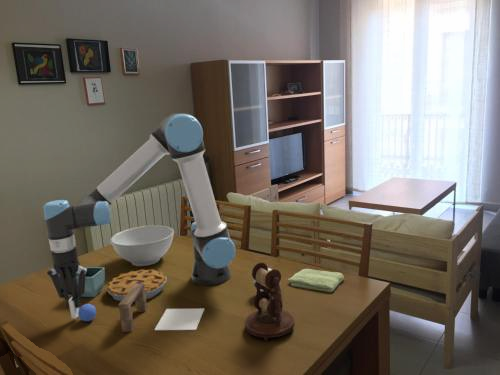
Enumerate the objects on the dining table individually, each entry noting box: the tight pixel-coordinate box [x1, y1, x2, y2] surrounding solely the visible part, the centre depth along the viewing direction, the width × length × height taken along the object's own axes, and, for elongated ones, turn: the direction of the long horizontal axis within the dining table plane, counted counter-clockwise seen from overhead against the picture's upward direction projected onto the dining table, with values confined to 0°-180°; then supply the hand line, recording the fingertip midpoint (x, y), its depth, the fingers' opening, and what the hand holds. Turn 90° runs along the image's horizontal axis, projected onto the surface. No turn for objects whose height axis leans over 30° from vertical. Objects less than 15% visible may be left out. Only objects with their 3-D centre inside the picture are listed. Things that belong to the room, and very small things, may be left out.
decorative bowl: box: [110, 224, 175, 267], centre depth 192 cm, size 27×27×12 cm
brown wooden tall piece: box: [244, 262, 295, 342], centre depth 129 cm, size 15×15×20 cm
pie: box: [106, 268, 168, 302], centre depth 164 cm, size 22×22×5 cm
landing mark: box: [154, 308, 205, 331], centre depth 140 cm, size 13×13×1 cm
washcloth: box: [287, 268, 345, 293], centre depth 160 cm, size 13×18×3 cm
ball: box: [78, 303, 97, 322], centre depth 143 cm, size 6×6×6 cm
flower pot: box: [77, 266, 106, 298], centre depth 162 cm, size 9×9×9 cm
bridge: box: [118, 284, 148, 333], centre depth 141 cm, size 3×14×9 cm, turn 174°
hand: (75, 316), depth 144 cm, fingers closed
